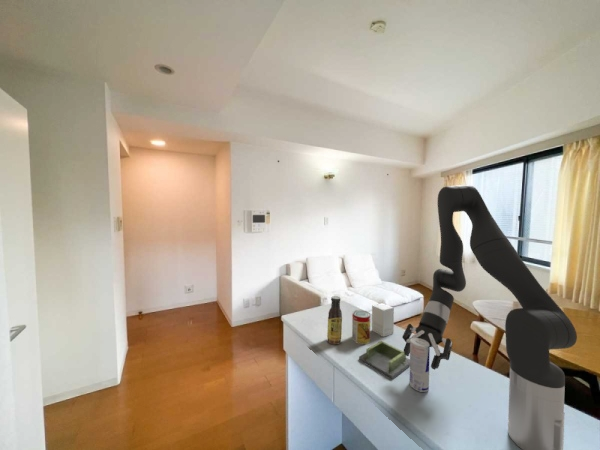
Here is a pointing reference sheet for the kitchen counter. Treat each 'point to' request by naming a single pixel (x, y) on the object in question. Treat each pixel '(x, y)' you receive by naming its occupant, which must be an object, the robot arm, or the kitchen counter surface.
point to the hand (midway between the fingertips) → (418, 361)
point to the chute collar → (386, 359)
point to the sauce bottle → (334, 321)
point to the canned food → (361, 326)
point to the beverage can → (419, 364)
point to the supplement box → (383, 319)
